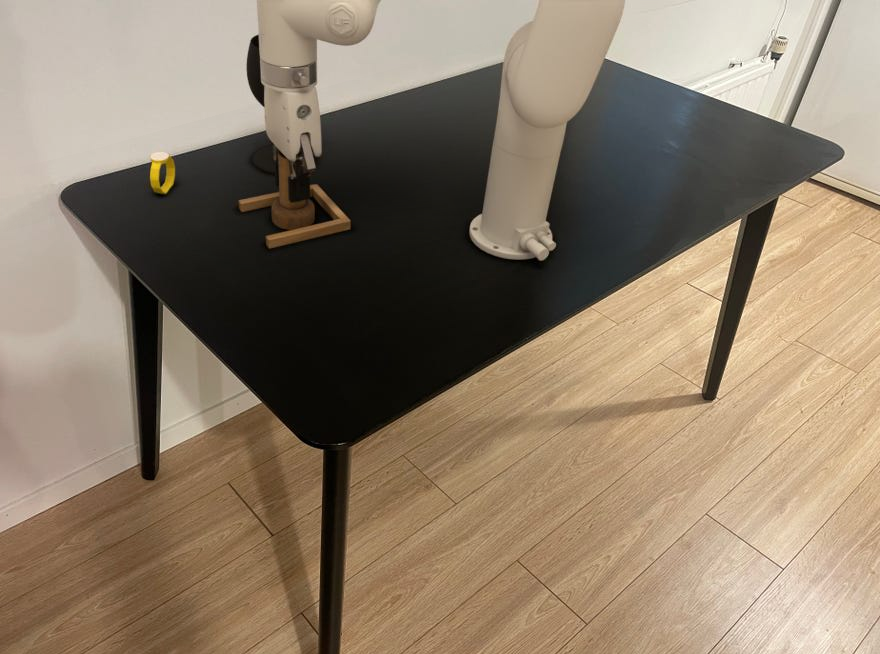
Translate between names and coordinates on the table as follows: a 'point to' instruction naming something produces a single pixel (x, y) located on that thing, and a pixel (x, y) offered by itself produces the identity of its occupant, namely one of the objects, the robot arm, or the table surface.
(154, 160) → the watch
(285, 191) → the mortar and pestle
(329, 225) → the frame
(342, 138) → the table surface
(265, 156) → the wine glass
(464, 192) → the table surface
